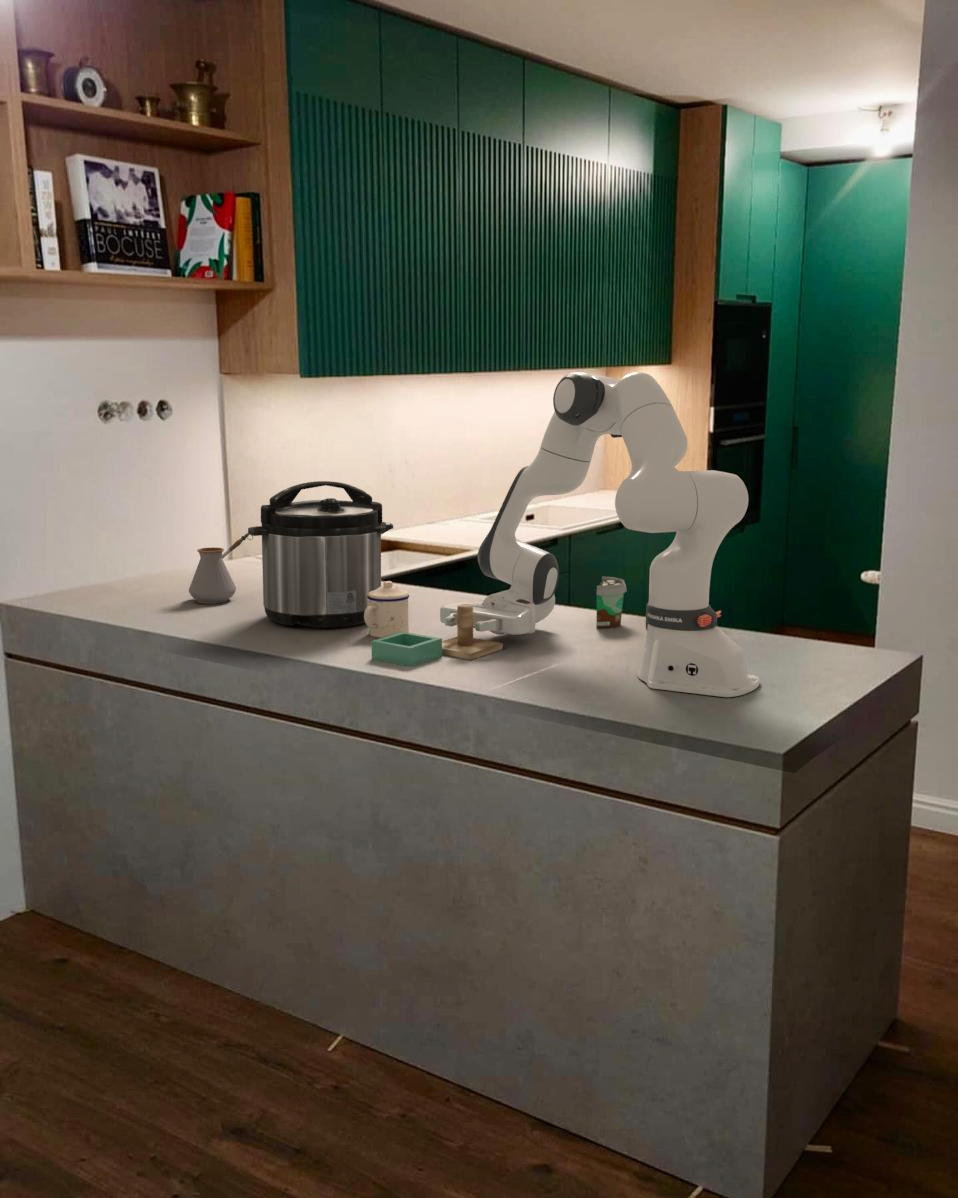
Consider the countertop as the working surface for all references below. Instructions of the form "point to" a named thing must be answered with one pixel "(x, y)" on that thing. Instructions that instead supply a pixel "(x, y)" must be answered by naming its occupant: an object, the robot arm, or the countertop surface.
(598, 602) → the food container
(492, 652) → the mat
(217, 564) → the coffee pot
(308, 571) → the pressure cooker
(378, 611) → the teacup with lid
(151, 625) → the countertop surface
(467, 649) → the lid
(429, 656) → the dish
